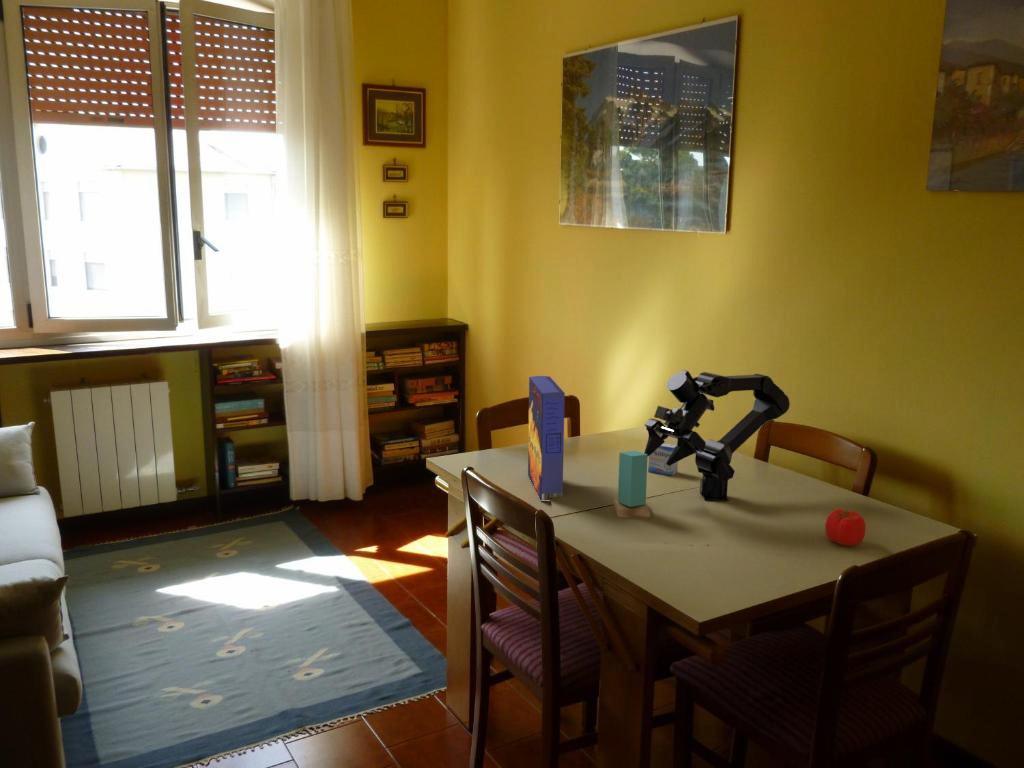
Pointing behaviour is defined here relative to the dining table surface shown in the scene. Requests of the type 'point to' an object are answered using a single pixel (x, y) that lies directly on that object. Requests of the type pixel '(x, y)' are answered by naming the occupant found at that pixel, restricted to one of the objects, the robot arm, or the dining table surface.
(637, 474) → the pillar
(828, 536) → the tomato
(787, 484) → the dining table surface
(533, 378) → the cereal box
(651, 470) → the medicine box
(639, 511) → the top slab
